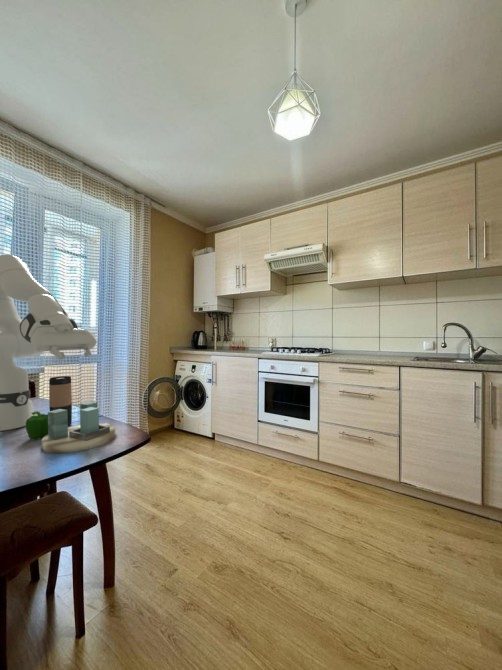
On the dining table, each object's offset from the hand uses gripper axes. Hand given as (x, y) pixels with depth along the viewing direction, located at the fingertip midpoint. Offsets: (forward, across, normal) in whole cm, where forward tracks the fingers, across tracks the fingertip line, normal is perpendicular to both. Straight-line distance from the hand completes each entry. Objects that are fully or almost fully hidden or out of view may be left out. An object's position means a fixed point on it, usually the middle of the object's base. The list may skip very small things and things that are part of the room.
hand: (76, 356), depth 96 cm
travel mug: (+5, -9, -38) cm, 40 cm away
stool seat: (+21, -2, -21) cm, 30 cm away
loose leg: (+22, -2, -16) cm, 28 cm away
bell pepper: (+10, +2, -34) cm, 35 cm away
